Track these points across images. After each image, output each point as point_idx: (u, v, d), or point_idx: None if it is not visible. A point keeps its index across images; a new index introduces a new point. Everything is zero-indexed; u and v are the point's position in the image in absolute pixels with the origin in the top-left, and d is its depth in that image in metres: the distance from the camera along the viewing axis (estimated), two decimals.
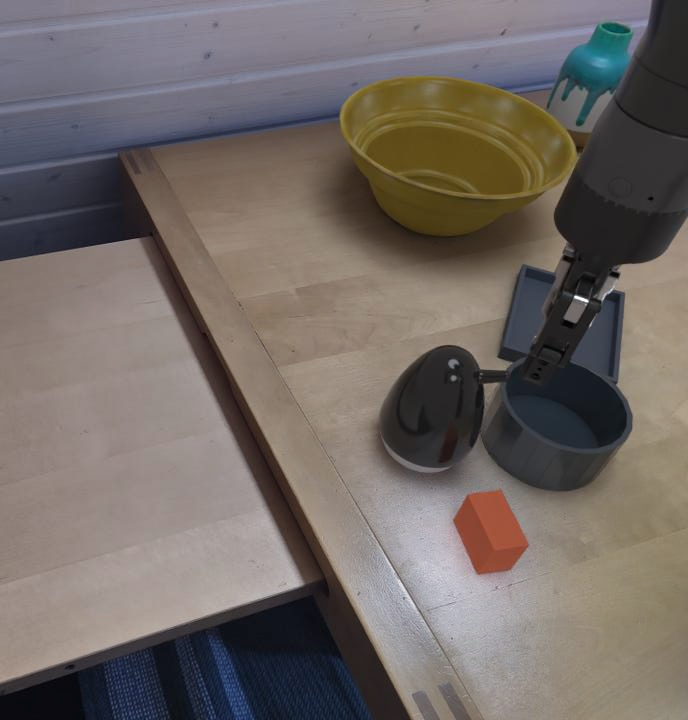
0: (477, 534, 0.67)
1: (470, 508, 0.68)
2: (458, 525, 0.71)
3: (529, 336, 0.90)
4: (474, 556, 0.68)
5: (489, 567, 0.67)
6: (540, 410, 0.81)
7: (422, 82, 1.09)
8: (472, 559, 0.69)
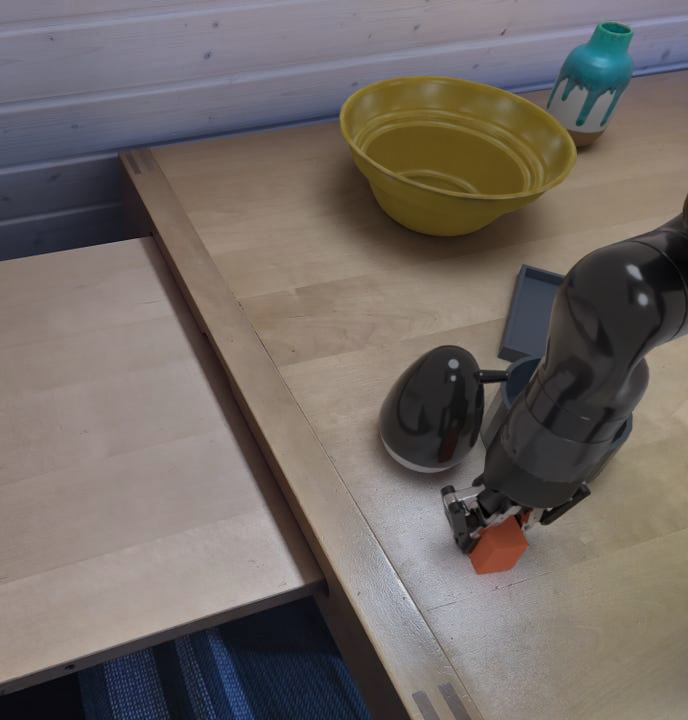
0: None
1: None
2: None
3: (529, 336, 0.90)
4: (474, 556, 0.68)
5: (489, 567, 0.67)
6: None
7: (422, 82, 1.09)
8: (472, 559, 0.69)
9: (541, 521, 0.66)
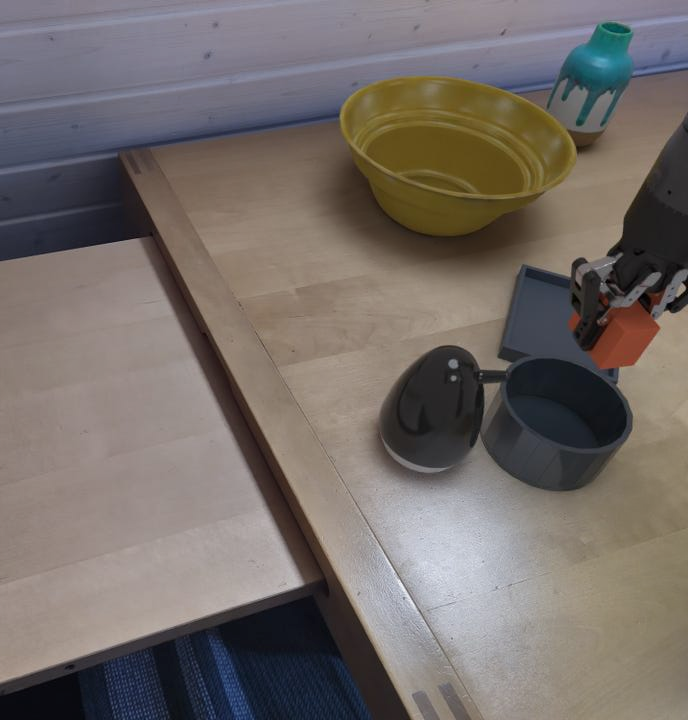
0: None
1: None
2: (574, 326, 0.68)
3: (529, 336, 0.90)
4: (596, 350, 0.65)
5: (614, 359, 0.64)
6: (540, 410, 0.81)
7: (422, 82, 1.09)
8: (593, 355, 0.66)
9: (671, 307, 0.63)
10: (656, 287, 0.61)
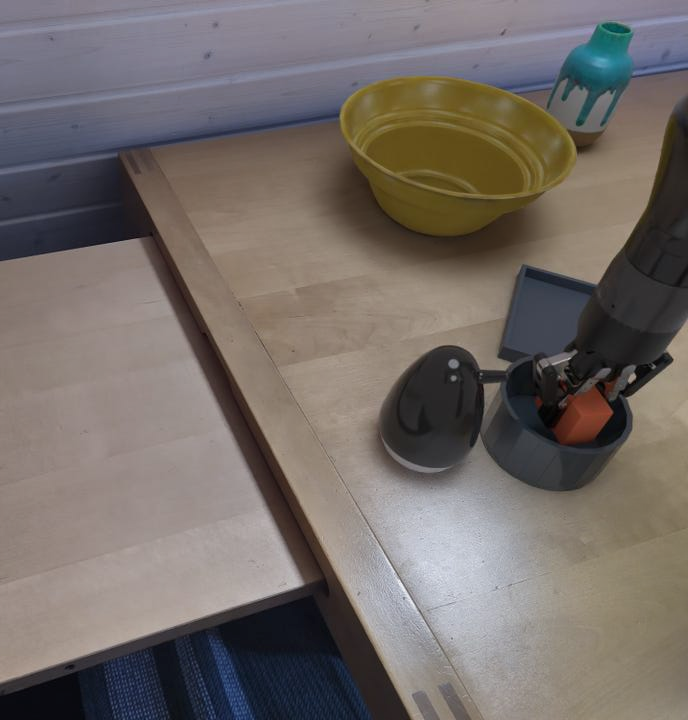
0: None
1: None
2: (539, 404, 0.76)
3: (529, 336, 0.90)
4: (558, 429, 0.73)
5: (573, 437, 0.72)
6: None
7: (422, 82, 1.09)
8: (555, 432, 0.74)
9: (623, 392, 0.71)
10: (608, 378, 0.68)
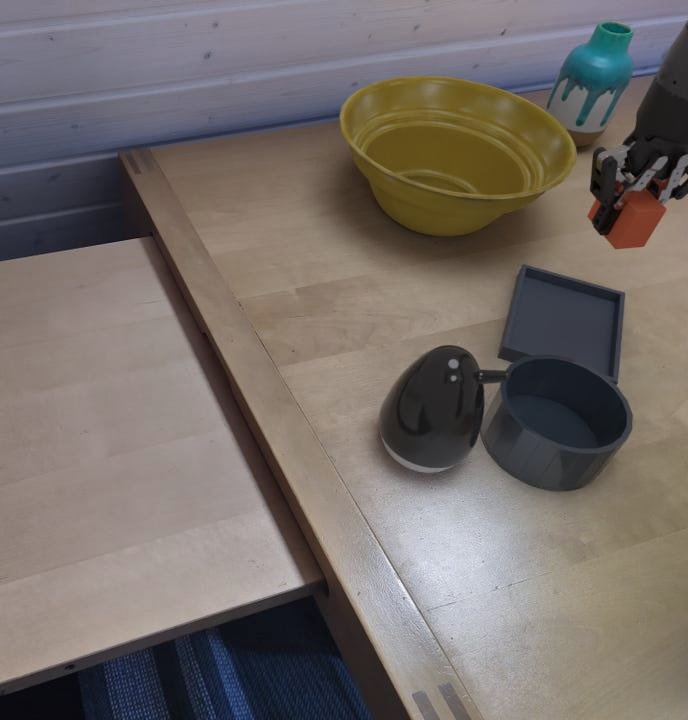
0: None
1: None
2: (592, 217, 0.80)
3: (529, 336, 0.90)
4: (612, 233, 0.77)
5: (627, 239, 0.76)
6: (540, 410, 0.81)
7: (422, 82, 1.09)
8: (609, 238, 0.78)
9: (675, 194, 0.75)
10: (663, 173, 0.73)
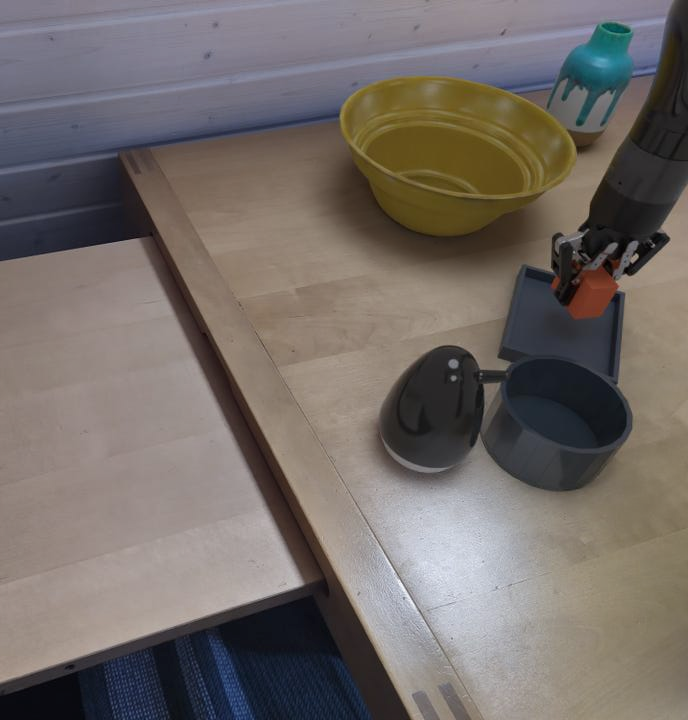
0: None
1: None
2: (555, 288, 0.89)
3: (529, 336, 0.90)
4: (572, 305, 0.86)
5: (585, 311, 0.85)
6: (540, 410, 0.81)
7: (422, 82, 1.09)
8: (569, 309, 0.86)
9: (627, 271, 0.84)
10: (615, 255, 0.81)
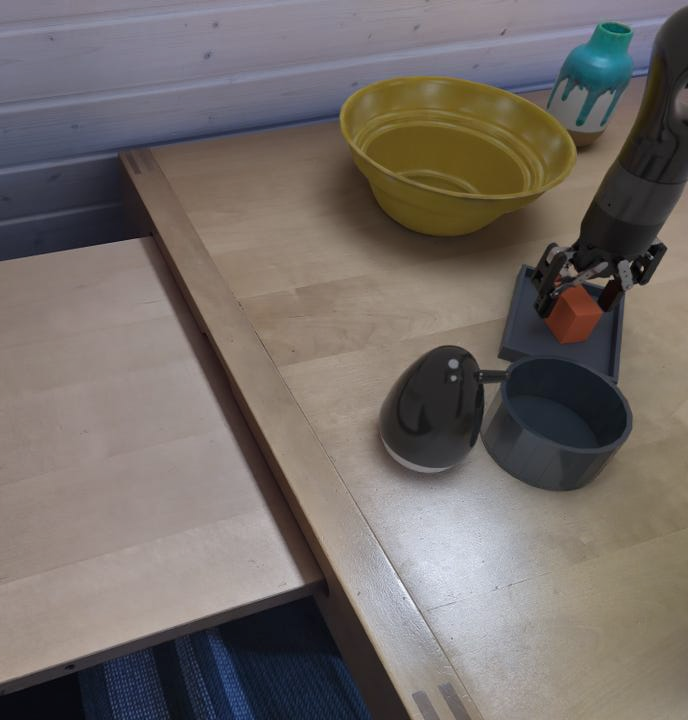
0: (561, 311, 0.88)
1: None
2: None
3: (529, 336, 0.90)
4: (558, 330, 0.89)
5: (570, 336, 0.88)
6: (540, 410, 0.81)
7: (422, 82, 1.09)
8: (555, 334, 0.89)
9: (639, 281, 0.85)
10: (613, 273, 0.83)
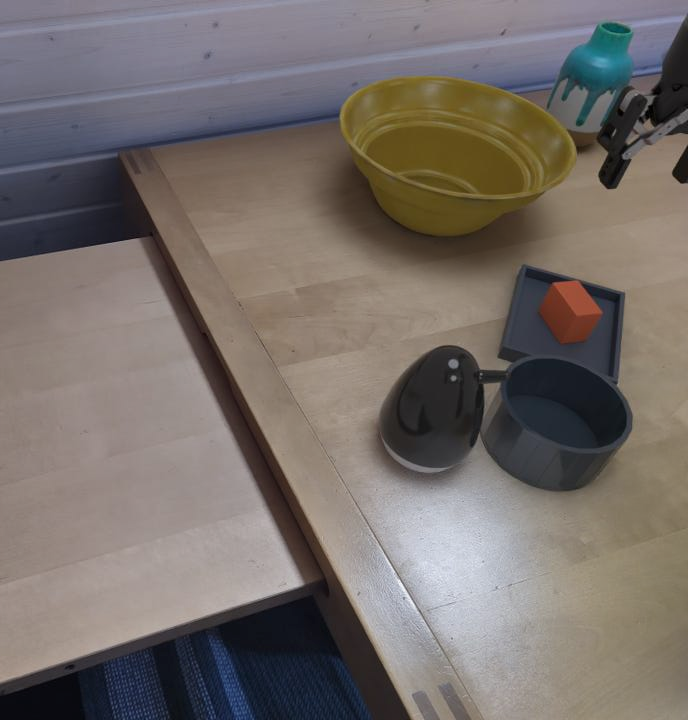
0: (561, 311, 0.88)
1: (555, 292, 0.89)
2: (542, 313, 0.92)
3: (529, 336, 0.90)
4: (558, 330, 0.89)
5: (570, 336, 0.88)
6: (540, 410, 0.81)
7: (422, 82, 1.09)
8: (555, 334, 0.89)
9: None
10: None
